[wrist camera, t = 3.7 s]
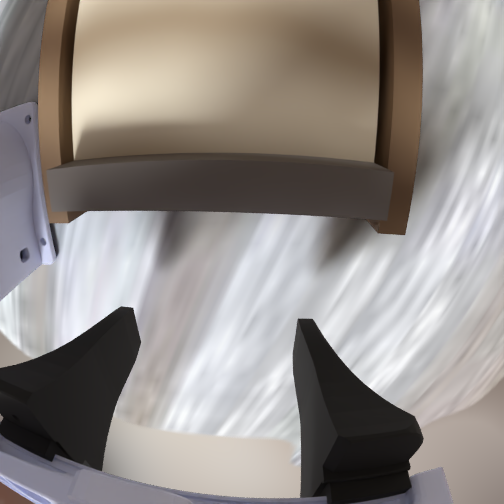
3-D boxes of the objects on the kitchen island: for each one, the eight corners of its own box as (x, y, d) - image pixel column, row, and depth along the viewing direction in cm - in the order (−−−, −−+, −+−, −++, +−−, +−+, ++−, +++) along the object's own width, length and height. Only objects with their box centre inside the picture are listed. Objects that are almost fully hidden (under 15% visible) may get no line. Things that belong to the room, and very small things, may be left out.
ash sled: (358, 194, 12) (387, 220, 9) (94, 188, 13) (51, 211, 9) (361, -51, 7) (384, -86, 4) (105, -40, 8) (69, -65, 4)
